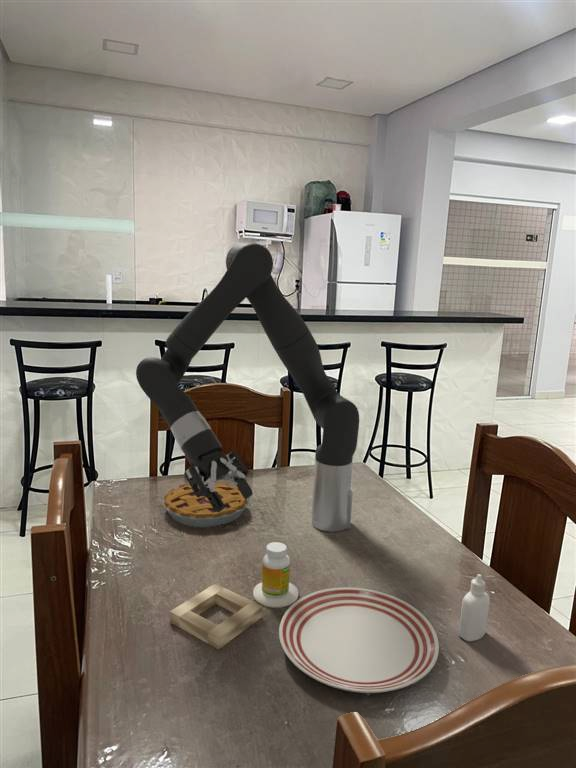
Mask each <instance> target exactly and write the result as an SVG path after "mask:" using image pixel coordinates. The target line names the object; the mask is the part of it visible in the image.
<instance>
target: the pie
mask: <svg viewBox="0 0 576 768" xmlns="http://www.w3.org/2000/svg"><path fill="white" fill-rule="evenodd" d="M197 486H198V485H197ZM198 488H199V487H198ZM216 491H217V493H218V495H219V496H220V498H221V500H222V501H223V503H224V504H225V508H224V509H223V510H222V511H220V512H217V511H216V510H214V509H213V507H212V505H211V504H210V502H209V500H208V499H207V498H206V497H204V496H200V497H199V498H198V497H196V495H195V493H194V492H193V490H192V488H191V486H190V484H181V485H178V487H177V488H172V489H170V491H168V493H166V494H165V495H164V497H163V498H162V499H163V500H162V506H163V507H164V508H165V509H166V510H167V512H168V514H169V515H170V517H171V516H172V517H171V518H172V520H173V521H175V520H176V521H175V522H177V521H178V523H179V524H182V525H184V526H187V525H189V526H188V527H192V526H194V527H193V528H197V527H199V528H212V527H211V526H213V527H218V526H222V525H221V524H223V525H226V523H227V524H228V523H229V524H230V523H231V522H233V521H236V520H237V519H238V518H239V517H240V516H242V515H243V512H244V511H245V508H246V507H247V506H248V505H249V501H248V499H249V498H248V499H244V497H243V495H242V494H241V492H240V491H239V489H238V487H237V486H234V485H233V486H231V485H228V483H225V482H220V483H218V482H217V483H216V482H215V491H214V492H216ZM217 525H218V526H217Z"/></svg>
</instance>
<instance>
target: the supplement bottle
mask: <svg viewBox="0 0 576 768" xmlns="http://www.w3.org/2000/svg"><path fill="white" fill-rule="evenodd" d="M265 551H266V554H265V555H264V556H263V557H262V565H261V567H262V570H261V571H262V572H261V576H262V577H261V582H262V592H263V594H264V595H266V596H267V597H270V598H281V597H284V596H285V595H287V593H288V591H289V583H290V571H291V570H290V568H291V560H290V557H289V555H288V554H287V552H288V547H287V545H286V544H285V543H282V542H280V541H279V542H277V541H274V542H270V543H268V544H267V545H266V550H265Z"/></svg>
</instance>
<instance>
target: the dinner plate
mask: <svg viewBox="0 0 576 768" xmlns="http://www.w3.org/2000/svg"><path fill="white" fill-rule="evenodd" d="M278 629H279V630H278V635H279V642H280V645H281V648H282V649H283V652H284V654H285V655H286V656H287V658H288V659H289V660H290V662H291V663H292V664H293V665H294V666H295V667H296V668H298V670H300V671H301V672H303V674H305V675H307V676H308V677H310V678H312V679H314V680H315V681H317V682H320V683H322V684H325V685H326V686H329V687H332V688H335V689H338V690H342V691H347V692H354V693H361V694H375V693H377V694H378V693H379V694H380V693H385V692H387V693H388V692H391V691H396V690H400V689H403V688H405V687H406V688H407V687H409V686H411V685H413V684H415V683H417V682H418V681H421V679H423V678H424V677H426V676H427V675H428V674H429V672H431V670H432V669H433V667H434V666H435V664H436V663H437V660H438V657H439V650H440V643H439V639H438V635H437V633H436V630H435V629H434V627H433V625H432V624H431V622H430V621H429V620H428V618H427V617H425V615H424V614H423V613H422V612H420V610H418V609H417V608H415V607H414V606H413V605H411V603H408V602H407V601H405V600H403V599H400V598H398V597H397V596H393V595H391V594H388V593H385V592H381V591H378V590H375V589H374V590H373V589H370V588H369V589H368V588H364V587H363V588H361V587H346V586H345V587H333V588H326V589H321V590H318V591H314V592H311V593H309V594H307V595H305V596H303V597H300V598H298V599H297V601H296V602H295V603H293V604H292V605H290V607H288V609H286V611H285V613H284V614H283V616H282V618H281V621H280V624H279V628H278Z"/></svg>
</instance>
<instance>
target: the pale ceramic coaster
mask: <svg viewBox="0 0 576 768" xmlns="http://www.w3.org/2000/svg"><path fill="white" fill-rule="evenodd" d="M252 594H253V599H254V600H255V601H256V603H257V604H259V603H260V604H259V605H261V606H263V607H267V608H271V609H272V608H273V609H280V608H286V607H289V606H291V605H293V604H294V603H295V602H296V601H298V600H299V590H298V587H297V586H296V585H294V584H293V583H292V582H289V591H288V593H287V595H285V596H284V597H281V598H270V597H267V596H266V595H264V594H263V592H262V581H261V582H260V583H257V584H256V586H254V587H253V591H252Z"/></svg>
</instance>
